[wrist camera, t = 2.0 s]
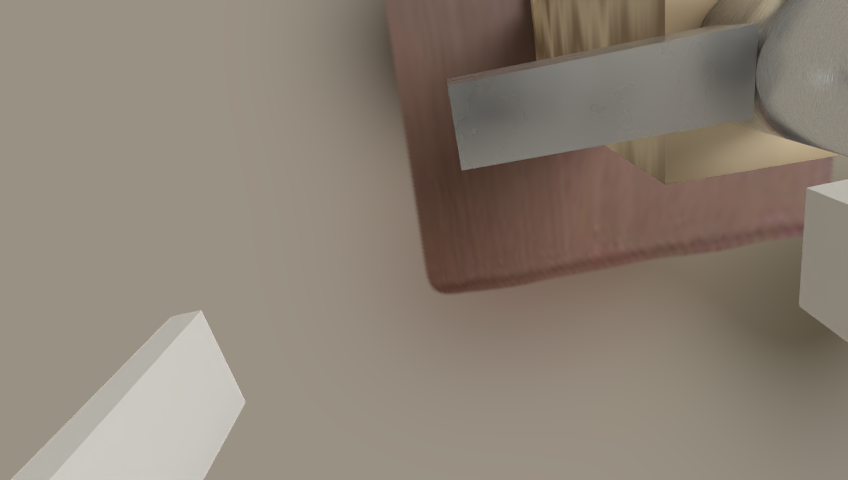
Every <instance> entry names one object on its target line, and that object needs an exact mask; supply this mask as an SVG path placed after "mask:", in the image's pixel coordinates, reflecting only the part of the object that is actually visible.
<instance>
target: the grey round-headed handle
mask: <svg viewBox="0 0 848 480" xmlns="http://www.w3.org/2000/svg"><path fill="white" fill-rule="evenodd" d="M447 87H448V93H449V98H450V104H451V110H452V116H453V122H454V128H455V134H456V140H457V146H458V152H459V158H460V164H461V170H462V171H463V170H468V169H474V168H479V167H485V166H490V165H496V164H501V163H507V162H513V161H518V160H524V159H529V158H535V157H540V156H546V155H551V154H557V153H563V152H568V151H574V150H579V149H585V148H590V147H596V146H601V145H607V144H612V143H618V142H624V141H629V140H635V139H640V138H646V137H651V136H657V135H662V134H668V133H674V132H679V131H685V130H690V129H696V128H701V127H707V126H712V125H718V124H723V123H732V124H735V125H739V126H742V127H746V128H749V129H753V130H756V131H760V132H763V133H767V134H770V135H774V136H777V137H781V138H784V139H788V140H791V141H795V142H798V143H802V144H805V145H809V146H812V147H816V148H819V149H823V150H826V151H830V152H833V153H837V154H840V155H844V156H848V0H719V1H718V2H717V3H716V4H715V5H714V6H713V8H712V9H711V10H710V12H709V13H708V14H707V16H706V17H705V19H704V21H703V23H702V24H701V26H700V28H697V29H692V30H687V31H682V32H677V33H672V34H667V35H662V36H657V37H652V38H647V39H642V40H637V41H632V42H627V43H622V44H618V45H613V46H608V47H603V48H598V49H593V50H588V51H583V52H578V53H573V54H568V55H563V56H558V57H553V58H548V59H543V60H538V61H533V62H528V63H523V64H518V65H513V66H509V67H504V68H499V69H494V70H489V71H484V72H479V73H474V74H469V75H464V76H459V77H454V78H449V79H447Z"/></svg>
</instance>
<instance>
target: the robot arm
mask: <svg viewBox="0 0 848 480" xmlns="http://www.w3.org/2000/svg"><path fill="white" fill-rule="evenodd" d="M799 306H800V307H801V308H802V309H804V310H805V311H806V312H808V313H809V314H810V315H812V316H813V317H814V318H816V319H817V320H819V321H820V322H821V323H823V324H824V325H825V326H827V327H828V328H829V329H831V330H832V331H833V332H835V333H836V334H837V335H839V336H840V337H841V338H843V339H844V340H846V341H847V342H848V180H843V181H838V182H833V183H828V184H823V185H818V186H813V187H808V188H807V191H806V206H805V221H804V236H803V252H802V267H801V282H800V297H799ZM244 404H245V400H244V398H243V396H242V394H241V392H240V389H239V387H238V385H237V383H236V381H235V379H234V377H233V375H232V373H231V371H230V369H229V367H228V365H227V363H226V360H225V358H224V356H223V354H222V352H221V350H220V348H219V346H218V344H217V342H216V340H215V338H214V336H213V333H212V331H211V329H210V327H209V325H208V323H207V321H206V319H205V317H204V315H203V313H202V311H201V310H200V311H195V312H190V313H185V314H180V315H175V316H172V317H170V318H169V319H168V320H167V321H166V322H165V323H164V324H163V325H162V326H161V327H160V328H159V329H158V330H157V331H156V332H155V333H154V334H153V336H152V337H151V338H150V339H149V340H148V341H147V342H146V343H145V344H144V345H143V346H142V347H141V348H140V349H139V350H138V351H137V352H136V353H135V354H134V355H133V356H132V357H131V358H130V359H129V360H128V361H127V362H126V363H125V364H124V365H123V366H122V367H121V368H120V369H119V370H118V371H117V372H116V373H115V374H114V375H113V376H112V377H111V378H110V379H109V380H108V381H107V382H106V383H105V385H103V386H102V387H101V388H100V389H99V390H98V391H97V392H96V394H95V395H93V397H92V398H91V399H90V400H89V401H88V402H87V403H86V404H85V405H84V406H83V407H82V408H81V409H80V410H79V411H78V412H77V413H76V414H75V415H74V416H73V417H72V418H71V419H70V420H69V421H68V422H67V423H66V424H65V425H64V426H63V427H62V428H61V429H60V430H59V431H58V432H57V433H56V434H55V435H54V436H53V437H52V438H51V439H50V440H49V441H48V442H47V443H46V444H45V445H44V446H43V447H42V448H41V449H40V450H39V451H38V452H37V454H36V455H35V456H34V457H33V458H32V459H31V460H30V461H29V462H28V463H27V464H26V465H25V466H24V467H23V468H22V469H21V470H20V471H19V472H18V473H17V474H16V475H15V476H14V477H13V478H12V479H11V480H203V479H204V478H205V476H206V474H207V472H208V470H209V468H210V467H211V465H212V463H213V461H214V459H215V457H216V456H217V454H218V452H219V450H220V448H221V446H222V444H223V443H224V441H225V439H226V437H227V435H228V433H229V432H230V430H231V428H232V426H233V424H234V422H235V421H236V419H237V417H238V415H239V413H240V411H241V410H242V408H243V406H244Z"/></svg>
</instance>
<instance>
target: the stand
mask: <svg viewBox="0 0 848 480" xmlns="http://www.w3.org/2000/svg"><path fill="white" fill-rule="evenodd" d="M530 1H531V11H532V21H533V31H534V41H535V51H536V61H538V60H543V59H548V58H553V57H558V56H563V55H568V54H573V53H578V52H583V51H588V50H593V49H598V48H603V47H608V46H613V45H618V44H622V43H627V42H632V41H637V40H642V39H647V38H652V37H657V36H662V35H667V34H672V33H677V32H682V31H687V30H692V29H697V28H700V26H701V24H702V23H703V21H704V19H705V17H706V16H707V14H708V13H709V12H710V10H711V9H712V8H713V6H714V5H715V4H716V3H717V2H718V1H719V0H530ZM605 146H606V147H608V148H609V149H611V150H612V151H614V152H616V153H617V154H619V155H620V156H622V157H623V158H625V159H626V160H628V161H630V162H631V163H633V164H634V165H636V166H637V167H639V168H640V169H642V170H644V171H645V172H647V173H648V174H650V175H651V176H653V177H654V178H656V179H658V180H659V181H661V182H662V183H664V184H665V185H666V184H672V183H678V182H684V181H689V180H695V179H701V178H707V177H713V176H719V175H725V174H731V173H737V172H743V171H748V170H754V169H760V168H766V167H772V166H778V165H784V164H790V163H796V162H801V161H807V160H813V159H819V158H825V157H831V156H837V155H840V154H837V153H833V152H830V151H826V150H823V149H819V148H816V147H812V146H809V145H805V144H802V143H798V142H795V141H791V140H788V139H784V138H781V137H777V136H774V135H770V134H767V133H763V132H760V131H756V130H753V129H749V128H746V127H742V126H739V125H735V124H732V123H723V124H718V125H712V126H707V127H701V128H696V129H690V130H685V131H679V132H674V133H668V134H662V135H657V136H651V137H646V138H640V139H635V140H629V141H624V142H618V143H612V144H607V145H605Z"/></svg>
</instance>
